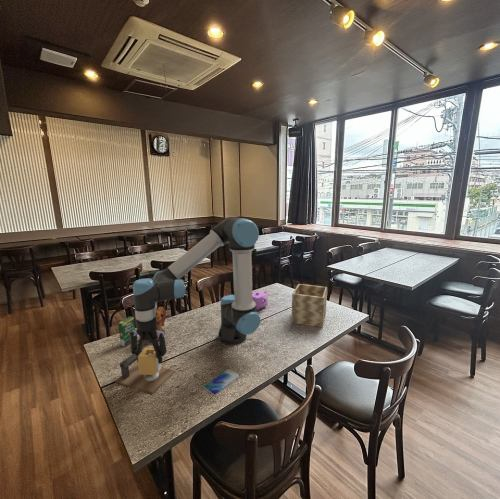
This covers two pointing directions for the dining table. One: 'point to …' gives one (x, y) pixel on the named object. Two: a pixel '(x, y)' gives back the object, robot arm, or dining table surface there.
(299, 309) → the planter
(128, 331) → the coffee box
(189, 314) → the dining table surface
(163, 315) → the mug
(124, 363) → the base
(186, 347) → the dining table surface
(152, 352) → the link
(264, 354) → the dining table surface
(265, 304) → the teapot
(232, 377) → the smartphone
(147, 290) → the robot arm
